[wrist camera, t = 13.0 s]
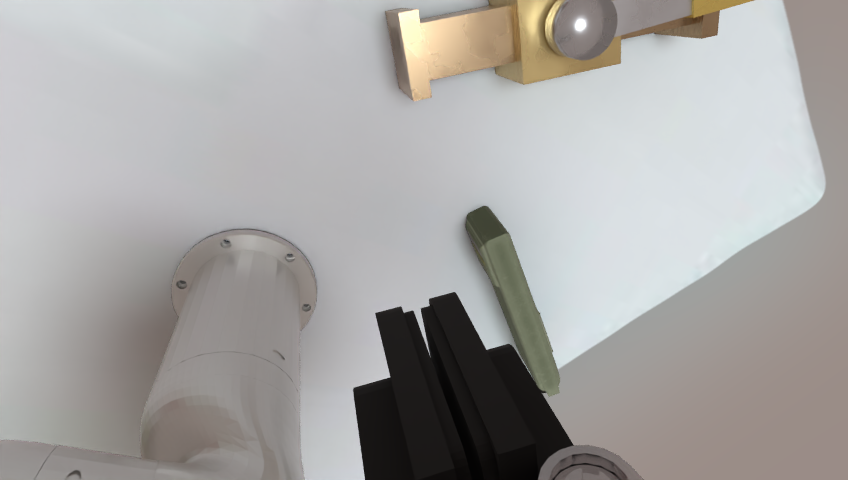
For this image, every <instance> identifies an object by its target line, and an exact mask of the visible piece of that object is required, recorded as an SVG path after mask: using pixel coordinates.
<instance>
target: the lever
mask: <svg viewBox="0 0 848 480" xmlns="http://www.w3.org/2000/svg"><path fill="white" fill-rule="evenodd" d="M750 1H753V0H557V1H556V2H555V3H554V5H553V6H552V7H551V9H550V11H549V13H548V16H547V19H546V23H545V35H546V39H547V42H548V44H549V46H550V48H551V49H552V50H553V51H554V52H555V53H557V54H558V55H560V56H563V57H568V58H572V59H577V60H590V59H593V58H595V57H597V56H599V55H600V54H602V53H603V52H604V51H605V50H606V49H607V48H608V47H609V45H610V44H611V42H612V40H613V38H614V37H617V36H621V35H624V34H627V33H631V32H634V31H638V30H641V29H645V28H648V27H652V26H655V25H658V24H662V23H665V22H669V21H672V20H676V19H679V18H683V17H685V18H695V17H698V16H702V15H705V14H709V13H712V12H716V11H719V10H722V9H726V8H729V7H733V6H736V5H740V4H743V3H746V2H750Z"/></svg>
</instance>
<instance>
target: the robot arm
mask: <svg viewBox="0 0 848 480" xmlns="http://www.w3.org/2000/svg"><path fill="white" fill-rule="evenodd" d="M224 240H229V242H225V241H224ZM288 254H292V255H291V256H289V255H288ZM181 280H183V281H185V282H183V281H181ZM171 298H172V302H173V307H174V310H175V312H176V314H177V316H178V320H177V323H176V326H175V328H174V331H173V334H172V336H171V339H170V341H169V344H168V347H167V349H166V352H165V355H164V357H163V360H162V362H161V365H160V368H159V370H158V373H157V376H156V378H155V381H154V383H153V386H152V389H151V391H150V394H149V397H148V399H147V402H146V405H145V408H144V411H143V414H142V418H141V424H140V449H141V456H142V458H137V457H131V456H124V455H118V454H112V453H105V452H99V451H93V450H87V449H80V448H74V447H68V446H61V445H59V446H58V445H52V444H45V443H38V442H29V441H19V440H0V480H305V477H304V471H303V465H302V456H301V439H300V331H301V330H302V329H303V328H304V327H305V325H306V324H307V323H308V321H309V320H310V318H311V316H312V314H313V312H314V308H315V305H316V301H317V286H316V279H315V276H314V272H313V269H312V267H311V266H310V264H309V262H308V260H307V259H306V258H305V257H304V255H303V254H302V253H301V252H300V251H299V250H298V249H297V248H296V247H294V246H293V245H292V244H290V243H289V242H287V241H286V240H284V239H282V238H280V237H278V236H276V235H272V234H269V233H266V232H263V231H256V230H232V231H227V232H221V233H218V234H216V235H213V236H211V237H208V238H206V239H205V240H203V241H201V242H200V243H198V244H196V245H195V246H194V247H193V248H192V249H191V250H190V251H189V252H188V253H187V254H186V255H185V256H184V258H183V259H182V261H181V262H180V264H179V266H178V268H177V270H176V272H175V274H174V278H173V281H172V290H171ZM429 304H430V306H428V307H424V308H421V313H422V318H423V323H424V327H425V332H426V337H427V342H428V347H429V352H430V355H429V352H428V350H427V347H426V344H425V341H424V339H423V336H422V333H421V330H420V328H419V325H418V322H417V319H416V317H415V314H414V311H409V312H406V313H403V310H402V307H401V306H400V307H397V308H393V309H389V310H386V311H382V312H378V313H375V314H376V318H377V322H378V327H379V331H380V335H381V339H382V343H383V347H384V352H385V356H386V360H387V364H388V368H389V372H390V378H387V379H383V380H380V381H376V382H373V383H369V384H366V385H362V386H359V387H355V388H354V389H353V392H354V401H355V408H356V415H357V423H358V430H359V437H360V445H361V452H362V460H363V467H364V474H365V480H644V479H643V478H642V477H641V476H640V475H639V474H638V473H637V472H636V471H635V470H634V469H633V468H632V467H631V466H630V465H629V464H628V463H627V462H625V461H624V460H623V459H622V458H621V457H620V456H618V455H616V454H614V453H612V452H610V451H608V450H606V449H603V448H599V447H595V446H590V445H578V446H577V445H576V446H574V445H573V444H572V442H571V440H570V439H569V437H568V435H567V434H566V432H565V430H564V429H563V427H562V426H561V424H560V422H559V421H558V419H557V418H556V416H555V414H554V412H553V411H552V409H551V408H550V406H549V404H548V403H547V401H546V399H545V398H544V396H543V394H542V393H541V391H540V390H539V388H538V386H537V385H536V383H535V381H534V380H533V378H532V377H531V375H530V373H529V372H528V370H527V368H526V367H525V365H524V363H523V362H522V360H521V359H520V357H519V355H518V354H517V352H516V350H515V349H514V348H513V346H512V345H510V344H506V345H503V346H499V347H496V348H492V349H489V350H486V349H485V347H484V345H483V343H482V341H481V339H480V337H479V335H478V333H477V332H476V330H475V328H474V326H473V324H472V322H471V320H470V318H469V317H468V315H467V313H466V311H465V309H464V307H463V305H462V303H461V301H460V300H459V298H458V296H457V294H456V293H455V292H453V293H449V294H445V295H442V296H438V297H434V298H430V299H429ZM430 357H431V358H430Z"/></svg>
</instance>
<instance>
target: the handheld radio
mask: <svg viewBox="0 0 848 480" xmlns="http://www.w3.org/2000/svg"><path fill="white" fill-rule="evenodd" d="M466 229H467V232H468V234H469V237H470V239H471V242H472V244H473V247H474V249H475V252H476V254H477V257H478V259H479V261H480V263H481V264H482V266H483V268H484V270H485V271H486V273H487V275H488V276H489V278H490V280H491V282H492V285H493V287H494V290H495V292H496V295H497V297H498V300H499V302H500V305H501V308H502V310H503V313H504V315H505V318H506V320H507V323H508V325H509V328H510V330H511V333H512V335H513V338H514V341H515V343H516V346H517V348H518V351H519V353H520V355H521V357H522V359H523V360H524V362H525V364H526V366H527V368H528V369H529V371H530V373H531V375H532V377H533V379H534V380H535V382H536V384H537V386H538V388H539V390H540V391H541V393H547V394H548V396H549V397H550V396H552V395H555V394H558V393H559V387H558V385H559V383H560V377H559V373H558V369H557V366H556V363H555V360H554V358H553V355H552V352H553V350H552V348H551V345H550V342H549V339H548V336H547V333H546V330H545V327H544V325H543V322H542V319H541V316H540V313H539V312H538V310H537V308H536V306H535V303H534V301H533V298H532V295H531V292H530V290H529V287H528V284H527V281H526V278H525V276H524V273H523V270H522V267H521V264H520V262H519V259H518V256H517V253H516V251H515V248H514V245H513V242H512V239H511V237H510V234H509V233H508V232H507V230H506V229H505V228H504V226H503V225H502V224H501V223H500V221H499V220H498V219H497V217H496V216H495V215H494V214H493V212H492V211H491V210H490V209H489V207H487V206H482V207H480V208H478V209H476V210H474V211H472V212H470V213H469V214H468V215H467V222H466Z"/></svg>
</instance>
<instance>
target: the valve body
mask: <svg viewBox="0 0 848 480" xmlns="http://www.w3.org/2000/svg"><path fill="white" fill-rule="evenodd" d="M556 1H557V0H489V6H485V7H480V8H475V9H469V10H464V11H459V12H454V13H449V14H444V15H439V16H434V17H429V18H424V19H419V12H418V9H408V8H400V9H395V10H389V11H385V13H386V19H387V24H388V30H389V35H390V40H391V46H392V51H393V57H394V62H395V67H396V73H397V78H398V84H399V89H400V90H402V91H403V92H404V93H405V94H406V95H407V96H408V97H409V98H410V99H411V100H413V101H417V100H422V99H426V98H431V97H432V95H431V89H430V83H429V80H434V79H439V78H443V77H448V76H453V75H457V74H462V73H467V72H472V71H476V70H481V69H486V68H490V67H495V72H496V74H497V75H500V76H502V77H505V78H507V79H510V80H513V81H515V82H518V83H520V84H523V85H525V84H529V83H534V82H538V81H543V80H548V79H552V78H557V77H561V76H566V75H570V74H575V73H579V72H584V71H588V70H593V69H598V68H602V67H607V66H611V65H616V64H620V63H621V39H626V38H631V37H635V36H640V35H645V34H649V33H654V32H655V34H661V35H671V36H681V37H691V38H701V39H702V38H706V37H711V36H715V35H717V33H718V23H719V12H720V10H719V11H716V12H712V13H709V14H705V15H702V16H698V17H695V18H685V17H683V18H679V19H676V20H672V21H669V22H665V23H662V24H658V25H655V26H652V27H648V28H645V29H641V30H638V31H634V32H631V33H627V34H624V35H621V36H617V37H614V38H613V40H612V42H611V44H610V45H609V47H608V48H607V49H606V50H605V51H604V52H603V53H602V54H600V55H599V56H597V57H595V58H593V59H590V60H577V59H572V58H568V57H563V56H560V55H558V54H557V53H555V52H554V51H553V50H552V49H551V48H550V46H549V44H548V42H547V39H546V35H545V23H546V19H547V16H548V13H549V11H550V9H551V7H552V6H553V5H554V3H555V2H556Z"/></svg>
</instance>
